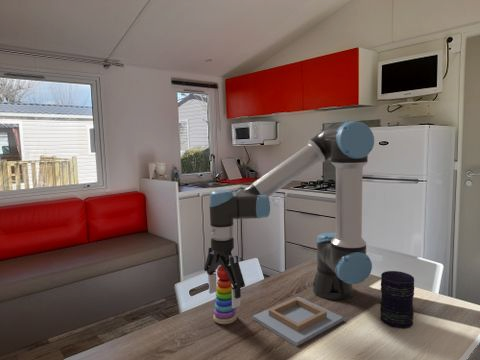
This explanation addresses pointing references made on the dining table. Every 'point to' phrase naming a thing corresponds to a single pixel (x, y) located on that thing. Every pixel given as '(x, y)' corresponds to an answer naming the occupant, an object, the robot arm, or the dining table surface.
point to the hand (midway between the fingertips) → (224, 299)
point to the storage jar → (397, 299)
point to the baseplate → (297, 320)
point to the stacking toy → (224, 299)
